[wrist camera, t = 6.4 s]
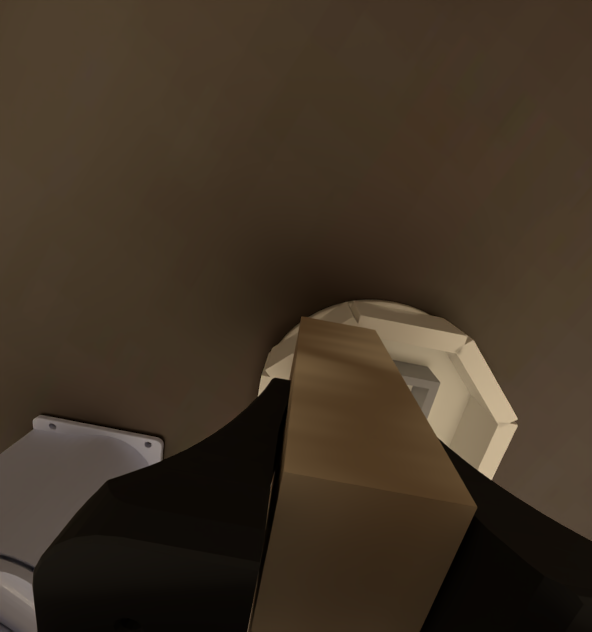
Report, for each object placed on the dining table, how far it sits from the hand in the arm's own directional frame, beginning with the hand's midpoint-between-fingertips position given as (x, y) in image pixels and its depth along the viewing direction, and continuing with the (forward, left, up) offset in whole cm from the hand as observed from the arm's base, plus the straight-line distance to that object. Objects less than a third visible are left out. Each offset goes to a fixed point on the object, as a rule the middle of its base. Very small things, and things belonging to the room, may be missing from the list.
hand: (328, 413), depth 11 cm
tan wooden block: (0, 0, -2) cm, 2 cm away
